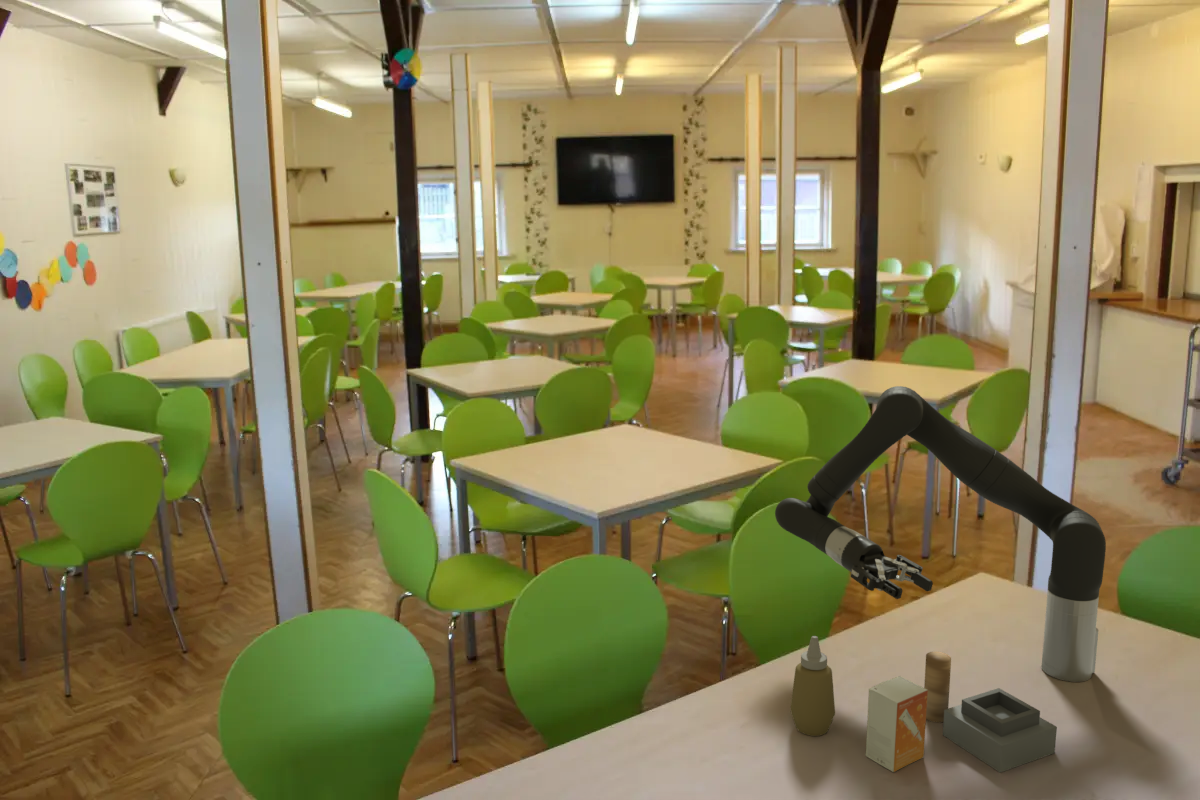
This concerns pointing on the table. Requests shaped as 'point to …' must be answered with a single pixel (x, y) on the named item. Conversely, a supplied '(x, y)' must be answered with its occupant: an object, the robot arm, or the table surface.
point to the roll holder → (999, 730)
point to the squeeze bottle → (813, 692)
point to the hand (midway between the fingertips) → (915, 590)
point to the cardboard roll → (937, 685)
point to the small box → (896, 723)
